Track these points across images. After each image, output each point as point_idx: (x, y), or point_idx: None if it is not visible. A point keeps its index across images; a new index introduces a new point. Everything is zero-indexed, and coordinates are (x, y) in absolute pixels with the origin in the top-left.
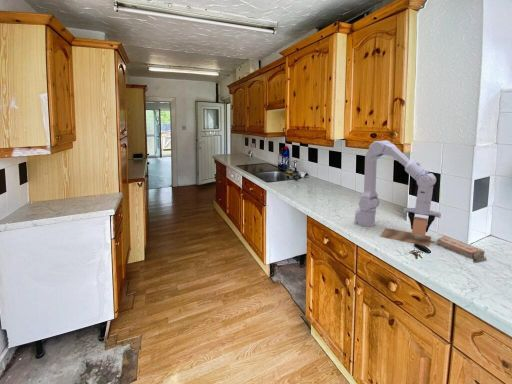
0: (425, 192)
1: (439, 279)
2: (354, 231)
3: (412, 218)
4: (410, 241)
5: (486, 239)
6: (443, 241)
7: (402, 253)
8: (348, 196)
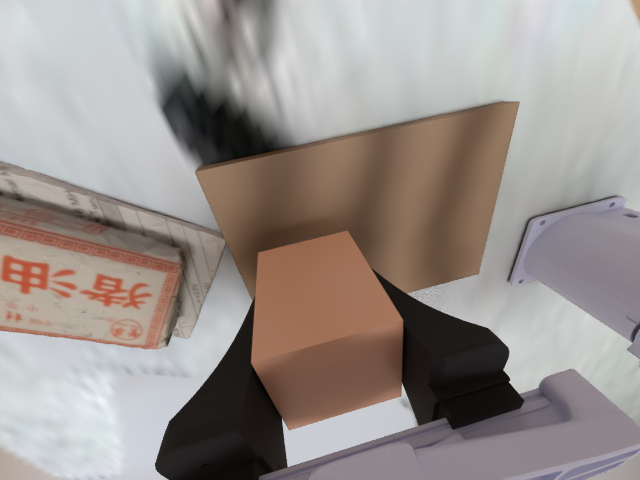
0: None
1: None
2: (637, 120)
3: (423, 329)
4: (328, 172)
5: (117, 452)
6: (122, 264)
7: None
8: None
